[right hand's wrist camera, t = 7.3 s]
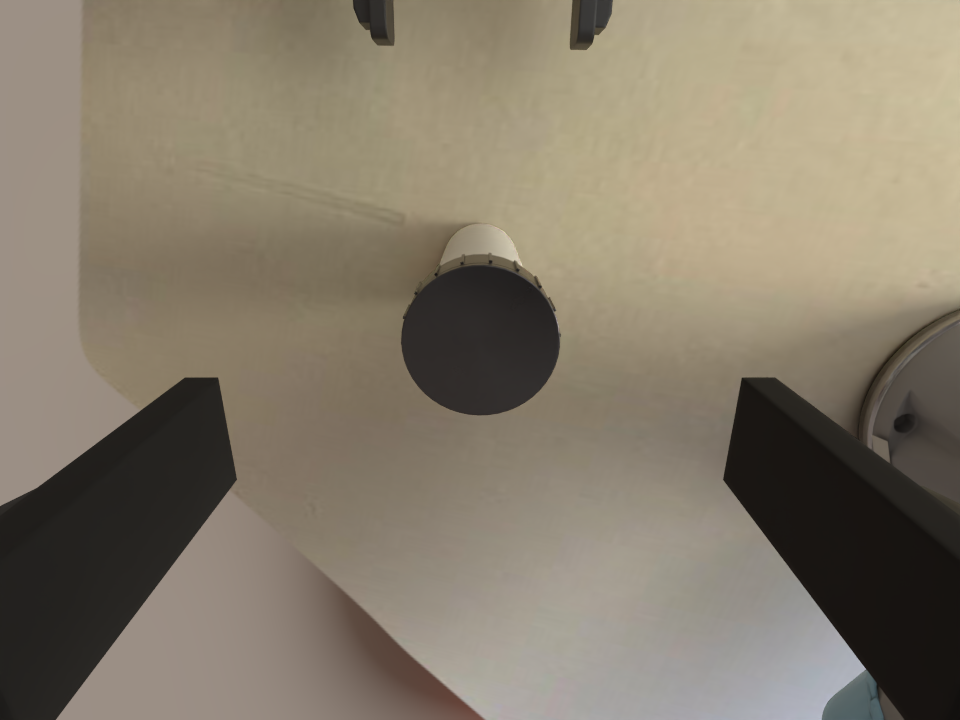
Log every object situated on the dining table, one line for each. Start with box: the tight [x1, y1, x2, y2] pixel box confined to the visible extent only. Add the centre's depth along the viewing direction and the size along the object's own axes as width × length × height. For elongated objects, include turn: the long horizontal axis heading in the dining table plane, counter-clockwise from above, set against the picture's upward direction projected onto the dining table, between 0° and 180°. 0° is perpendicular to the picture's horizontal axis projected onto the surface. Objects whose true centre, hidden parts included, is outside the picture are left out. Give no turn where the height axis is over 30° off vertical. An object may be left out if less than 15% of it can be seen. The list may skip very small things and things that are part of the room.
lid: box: [401, 253, 561, 415], centre depth 19 cm, size 6×6×2 cm
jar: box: [440, 223, 523, 267], centre depth 26 cm, size 4×4×15 cm
